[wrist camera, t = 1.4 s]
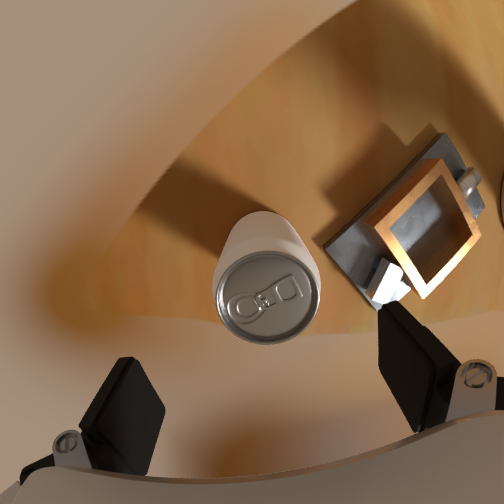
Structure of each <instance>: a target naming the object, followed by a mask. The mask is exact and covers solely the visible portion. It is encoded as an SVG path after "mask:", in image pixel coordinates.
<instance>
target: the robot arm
mask: <svg viewBox="0 0 504 504" xmlns="http://www.w3.org/2000/svg"><path fill="white" fill-rule="evenodd" d="M501 208H502V217H503V222H504V179H503V184H502V194H501ZM378 343H379V344H378V345H379V357H378V360H379V361H378V365H379V370H380V372H381V374H382V376H383V378H384V379H385V381H386V383H387V385H388V387H389V388H390V390H391V392H392V394H393V395H394V397H395V399H396V401H397V403H398V404H399V406H400V408H401V410H402V412H403V414H404V415H405V417H406V419H407V421H408V423H409V425H410V427H411V429H412V430H413V432H415V433H416V432H419V433H417V434H414V435H413V436H410V437H407V438H405V439H402V440H399V441H397V442H394V443H391V444H389V445H386V446H383V447H380V448H377V449H374V450H371V451H368V452H364V453H361V454H358V455H355V456H351V457H348V458H344V459H340V460H337V461H333V462H329V463H324V464H320V465H316V466H311V467H306V468H301V469H296V470H290V471H284V472H277V473H270V474H262V475H253V476H242V477H230V478H229V477H228V478H165V477H164V478H163V477H150V476H145V475H146V474H147V472H148V468H149V465H150V462H151V458H152V455H153V452H154V448H155V445H156V442H157V438H158V435H159V432H160V428H161V425H162V422H163V419H164V416H165V407H164V404H163V403H162V401H161V400H160V398H159V396H158V395H157V393H156V391H155V389H154V388H153V386H152V385H151V382H150V381H149V379H148V377H147V375H146V373H145V372H144V370H143V368H142V366H141V364H140V362H139V361H138V360H135V358H133V357H122V358H119V359H118V360H117V362H116V363H115V365H114V367H113V368H112V370H111V371H110V373H109V375H108V376H107V378H106V380H105V381H104V383H103V384H102V386H101V388H100V389H99V391H98V393H97V394H96V396H95V398H94V399H93V401H92V403H91V404H90V406H89V408H88V410H87V411H86V413H85V415H84V416H83V418H82V420H81V422H80V423H79V427H80V428H81V430H82V432H81V434H80V433H79V432H78V431H76V430H67V431H64V432H62V433H61V434H60V435H58V436H57V437H56V439H55V440H54V443H53V447H52V450H53V454H51V455H49V456H47V457H45V458H43V459H40V460H38V461H36V462H35V463H32V464H30V465H28V466H26V467H24V468H23V470H22V472H21V474H20V483H19V482H18V481H16V482H15V483H14V484H13V485H12V486H10V487H9V488H8V489H7V490H5V491H4V492H3V493H2V494H0V504H504V377H497V373H496V370H495V368H494V366H493V365H491V364H490V363H489V362H487V361H485V360H480V359H473V360H469V361H466V362H465V363H463V364H461V363H460V362H459V361H458V360H457V359H456V358H455V357H454V355H453V354H452V353H451V352H450V351H449V350H448V349H447V348H446V347H445V346H444V345H443V344H442V343H441V342H440V340H439V339H438V338H436V336H435V335H434V334H433V333H432V332H431V331H430V330H429V329H428V328H426V327H425V326H422V325H421V324H420V323H419V322H418V321H417V320H416V319H415V318H414V317H413V316H412V315H411V314H410V313H409V312H408V311H407V310H406V309H405V308H404V307H403V306H402V305H401V304H400V303H399V302H398V301H397V300H394V301H391V302H388V303H385V304H383V305H382V307H381V309H379V310H378Z"/></svg>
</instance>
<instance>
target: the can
mask: <svg viewBox="0 0 504 504" xmlns="http://www.w3.org/2000/svg"><path fill="white" fill-rule="evenodd" d="M320 290H321V282H320V275H319V271H318V268H317V266H316V264H315V262H314V260H313V258H312V256H311V254H310V253H309V251H308V250H307V248H306V246H305V245H304V243H303V242H302V240H301V238H300V237H299V235H298V234H297V232H296V231H295V229H294V228H293V227H292V225H291V224H290V223H289V222H288V221H287V220H286V219H285V218H283V217H282V216H280V215H278V214H276V213H273V212H268V211H258V212H253V213H250V214H248V215H246V216H244V217H243V218H241V219H240V220H239V221H238V222H237V223H236V224H235V225H234V227H233V228H232V230H231V232H230V234H229V236H228V239H227V241H226V243H225V246H224V248H223V251H222V253H221V256H220V258H219V261H218V263H217V266H216V269H215V272H214V276H213V284H212V291H213V297H214V301H215V304H216V308H217V312H218V314H219V317H220V319H221V321H222V322H223V324H224V325H225V326H226V327H227V328H228V329H229V330H230V331H231V332H232V333H233V334H234V335H236V336H237V337H239V338H241V339H243V340H245V341H248V342H251V343H255V344H263V345H270V344H278V343H282V342H285V341H288V340H290V339H292V338H294V337H296V336H297V335H299V334H300V333H302V332H303V331H304V330H305V329H306V328H307V327H308V326H309V325H310V323H311V322H312V320H313V319H314V317H315V315H316V312H317V310H318V306H319V298H320Z"/></svg>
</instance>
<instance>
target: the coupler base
mask: <svg viewBox="0 0 504 504" xmlns="http://www.w3.org/2000/svg"><path fill="white" fill-rule="evenodd" d="M480 182H481V176H480V174H479V172H478V171H477V170H476V169H474V168H473V167H468V168H466V166H465V164H464V162H463V161H462V159H461V157H460V155H459V154H458V152H457V150H456V148H455V147H454V145H453V143H452V142H451V140H450V138H449V137H448V135H447V134H446V132H445V133H439V134H438V135H437V136H436V137H435V138H434V139H433V140H432V141H431V142H430V144H429V145H428V146H427V147H426V148H425V149H424V150H423V151H422V152H421V153H420V154H419V155H418V156H417V157H416V158H415V159H414V160H413V161H412V162H411V163H410V164H409V165H408V166H407V167H406V168H405V169H404V170H403V171H402V172H401V173H400V174H399V175H398V176H397V177H396V178H395V179H394V180H393V181H392V182H391V183H390V184H389V185H388V186H387V187H386V188H384V189H383V190H382V191H381V192H380V193H379V194H378V195H377V196H376V197H375V198H374V199H373V200H372V201H371V202H370V203H369V204H368V205H367V206H366V207H365V208H364V209H363V210H361V211H360V212H359V213H358V214H357V215H356V216H355V217H354V218H353V219H352V220H351V221H350V222H349V223H348V224H346V225H345V226H344V227H343V228H342V229H341V230H340V231H339V232H338V233H337V234H336V235H335V236H333V237H332V238H331V239H330V240H329V241H328V242H327V243H326V244H325V245H324V246H323V247H324V249H325V250H326V251H327V252H328V253H329V254H330V256H331V257H332V258H333V259H334V260H335V261H336V263H337V264H338V265H339V266H340V267H341V268H342V270H343V271H344V272H345V273H346V274H347V275H348V277H349V278H350V279H351V280H352V281H353V283H354V284H355V285H356V286H357V287H358V289H359V290H360V291H361V292H362V293H363V295H364V296H365V297H366V298H367V299H368V301H369V302H370V303H371V304H372V306H373V307H374V308H375V309H376V311H377V312H378V310H379V309H381V307H382V305H383V304H385V303H388V302H391V301H394V300H397V301H399V300H400V299H401V298H402V297H403V296H404V295H405V294H406V293H407V292H408V291H409V290H410V289H412V290H413V291H414V292H415V293H417V294H418V295H419V296H420V297H421V298H422V299H424V298H425V297H426V296H427V295H428V294H429V293H430V292H431V291H432V290H433V289H434V288H435V287H436V286H437V285H438V284H439V283H440V282H441V281H442V280H443V279H444V277H445V276H446V275H447V274H448V273H449V272H450V271H451V270H452V269H453V268H454V267H455V266H456V264H457V263H458V262H459V261H460V260H461V259H462V258H463V257H464V255H465V254H466V253H467V252H468V251H469V250H470V248H471V247H472V246H473V245H474V244H475V242H476V241H477V240H478V239H479V237H480V236H481V234H480V231H479V229H478V227H477V224H476V222H475V219H476V218H477V216H478V215H479V214H480V213H481V211H482V210H483V209H484V207H485V205H484V203H483V201H482V199H481V196H480V194H479V192H478V190H477V188H476V187H477V186H478V185H479V183H480Z"/></svg>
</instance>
